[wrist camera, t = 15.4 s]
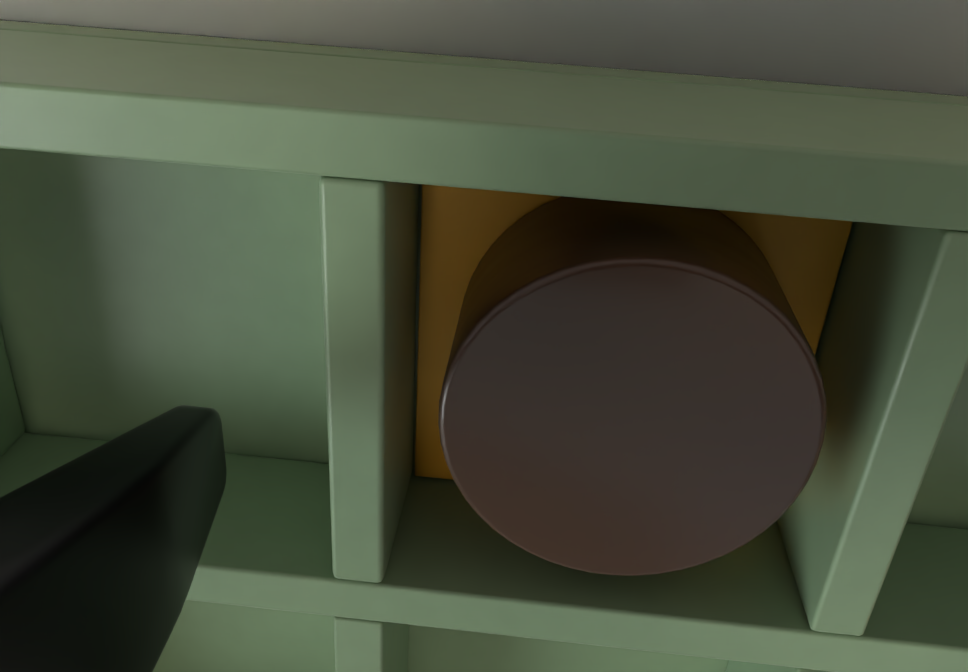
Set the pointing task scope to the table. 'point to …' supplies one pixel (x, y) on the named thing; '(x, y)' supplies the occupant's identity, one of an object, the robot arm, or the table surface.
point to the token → (629, 388)
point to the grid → (431, 328)
